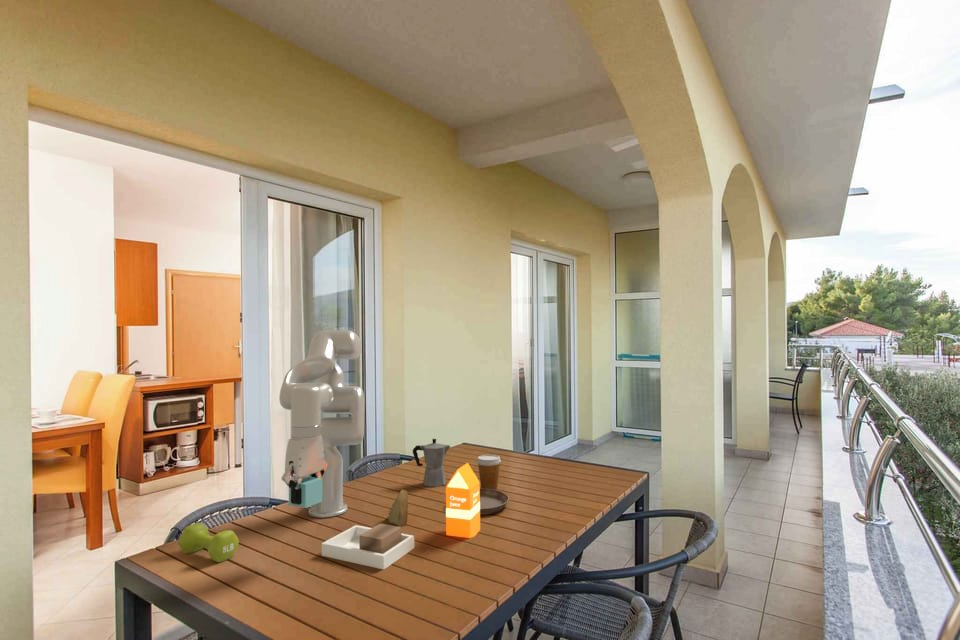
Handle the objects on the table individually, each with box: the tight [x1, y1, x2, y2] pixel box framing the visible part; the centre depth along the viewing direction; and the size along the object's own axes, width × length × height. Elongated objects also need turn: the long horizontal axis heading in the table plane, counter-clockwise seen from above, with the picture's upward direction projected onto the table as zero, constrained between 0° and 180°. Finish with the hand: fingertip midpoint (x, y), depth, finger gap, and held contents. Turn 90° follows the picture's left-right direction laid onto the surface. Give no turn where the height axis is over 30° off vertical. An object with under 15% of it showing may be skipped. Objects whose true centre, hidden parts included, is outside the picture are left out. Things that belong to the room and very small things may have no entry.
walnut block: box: [360, 523, 402, 554], centre depth 130 cm, size 7×9×6 cm
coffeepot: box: [412, 438, 451, 488], centre depth 198 cm, size 15×9×18 cm, turn 103°
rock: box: [387, 488, 409, 528], centre depth 154 cm, size 11×9×10 cm
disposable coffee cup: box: [476, 454, 502, 490], centre depth 190 cm, size 10×10×12 cm
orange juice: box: [445, 462, 481, 539], centre depth 146 cm, size 8×9×20 cm
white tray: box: [321, 524, 415, 571], centre depth 132 cm, size 20×14×4 cm
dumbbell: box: [177, 522, 240, 563], centre depth 133 cm, size 16×8×7 cm, turn 63°
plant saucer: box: [480, 488, 510, 516], centre depth 170 cm, size 21×21×3 cm
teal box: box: [288, 475, 322, 509], centre depth 131 cm, size 6×6×6 cm
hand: (305, 499), depth 131 cm, fingers closed on teal box, 5 cm apart
